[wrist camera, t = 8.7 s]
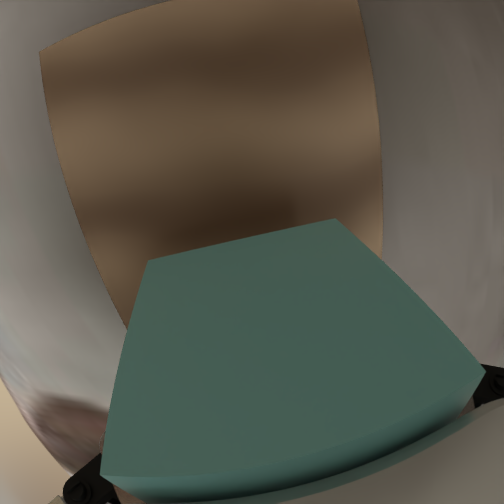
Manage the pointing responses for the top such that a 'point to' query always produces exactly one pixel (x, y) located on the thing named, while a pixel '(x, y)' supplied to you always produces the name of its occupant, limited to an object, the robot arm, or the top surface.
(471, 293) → the top surface
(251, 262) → the mint green cube
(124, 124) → the board
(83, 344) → the top surface
